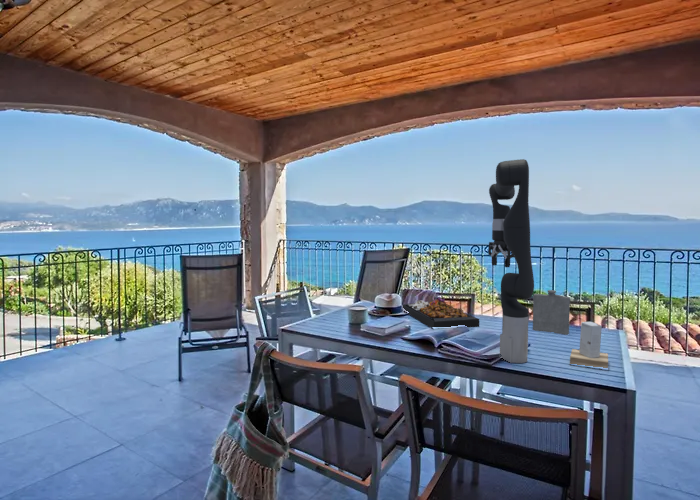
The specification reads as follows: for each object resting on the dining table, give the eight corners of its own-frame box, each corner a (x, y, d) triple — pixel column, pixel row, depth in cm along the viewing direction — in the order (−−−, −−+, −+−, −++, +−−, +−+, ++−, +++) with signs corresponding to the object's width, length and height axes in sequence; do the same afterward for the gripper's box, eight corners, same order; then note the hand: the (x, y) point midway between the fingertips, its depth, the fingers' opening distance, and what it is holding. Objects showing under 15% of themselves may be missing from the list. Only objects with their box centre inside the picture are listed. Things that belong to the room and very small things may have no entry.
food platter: (402, 312, 254) (402, 294, 253) (440, 310, 259) (441, 293, 259) (433, 330, 210) (434, 309, 209) (479, 327, 216) (479, 307, 215)
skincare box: (578, 353, 162) (579, 321, 161) (589, 352, 162) (590, 321, 162) (589, 358, 156) (590, 325, 155) (601, 357, 156) (602, 325, 155)
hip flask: (531, 330, 208) (532, 289, 207) (533, 328, 212) (534, 288, 210) (568, 335, 199) (569, 292, 198) (569, 333, 202) (570, 291, 201)
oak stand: (607, 370, 151) (608, 362, 151) (569, 365, 157) (570, 357, 157) (607, 361, 161) (607, 353, 161) (571, 356, 168) (572, 348, 167)
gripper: (483, 229, 193) (483, 265, 194) (505, 229, 179) (504, 268, 180) (497, 229, 195) (497, 264, 196) (519, 229, 182) (518, 267, 183)
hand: (500, 266), depth 188 cm, fingers open, 8 cm apart
